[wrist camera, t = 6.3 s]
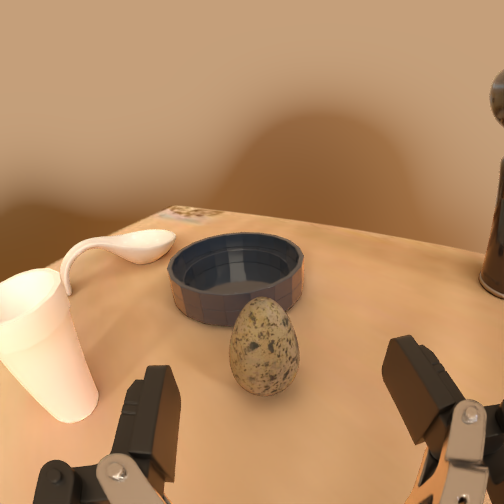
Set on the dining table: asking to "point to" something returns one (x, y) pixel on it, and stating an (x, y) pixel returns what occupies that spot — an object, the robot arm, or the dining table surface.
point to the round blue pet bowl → (235, 275)
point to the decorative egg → (263, 348)
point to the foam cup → (45, 344)
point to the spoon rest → (122, 249)
